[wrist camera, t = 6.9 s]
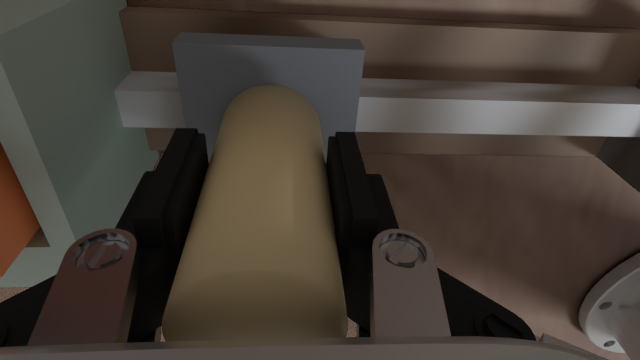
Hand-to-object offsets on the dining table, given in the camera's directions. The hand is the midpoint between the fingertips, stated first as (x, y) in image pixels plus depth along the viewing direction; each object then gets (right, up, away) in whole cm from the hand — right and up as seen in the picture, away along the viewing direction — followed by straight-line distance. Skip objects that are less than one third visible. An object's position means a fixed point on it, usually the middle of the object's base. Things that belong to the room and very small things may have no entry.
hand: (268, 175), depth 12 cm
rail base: (+5, +4, +6) cm, 9 cm away
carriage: (0, +3, +5) cm, 6 cm away
